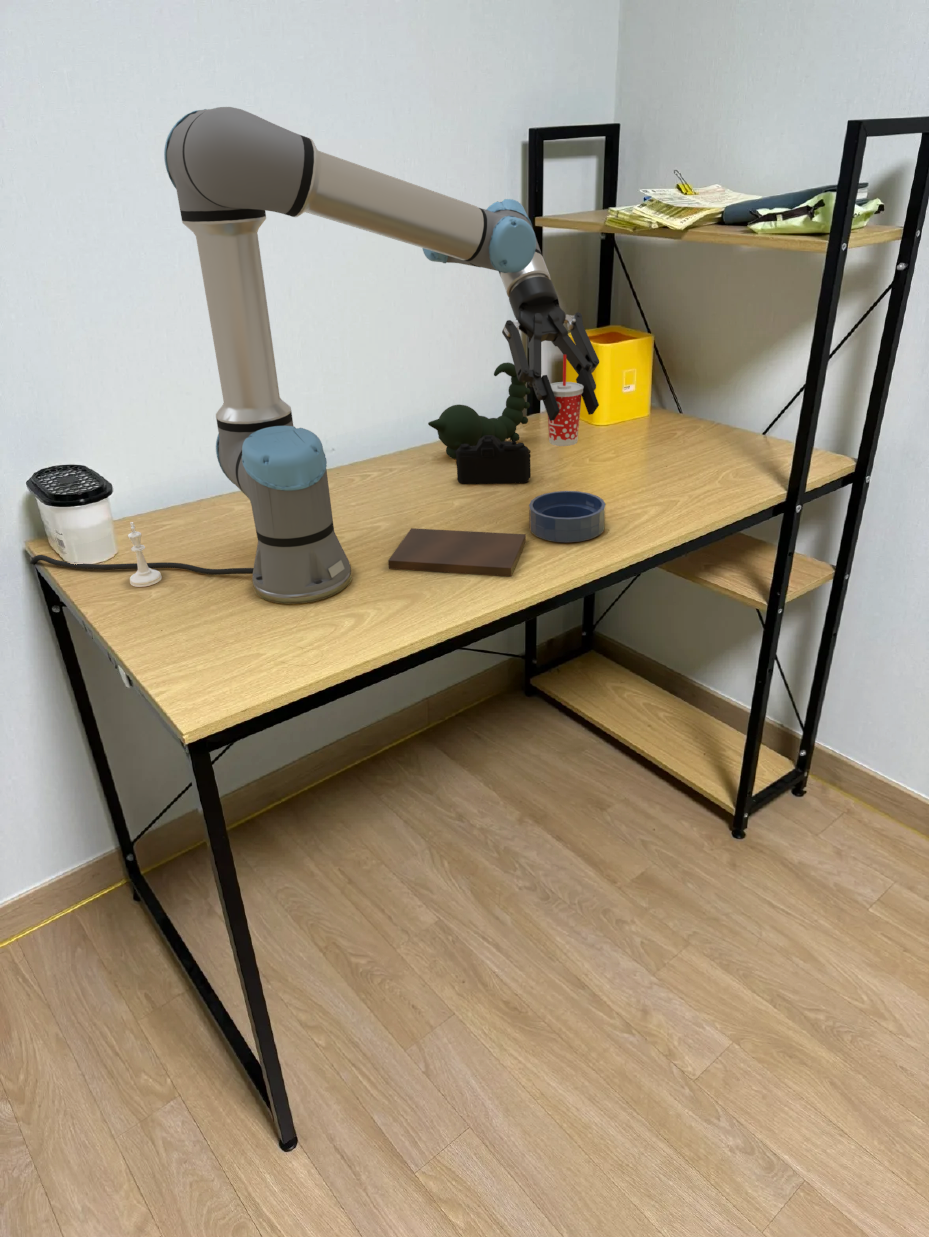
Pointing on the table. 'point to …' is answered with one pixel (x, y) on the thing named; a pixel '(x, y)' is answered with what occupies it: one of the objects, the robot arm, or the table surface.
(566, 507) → the bowl
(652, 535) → the table surface
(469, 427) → the toy figurine
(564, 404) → the beverage cup
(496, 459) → the film camera
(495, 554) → the board
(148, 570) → the chess piece
